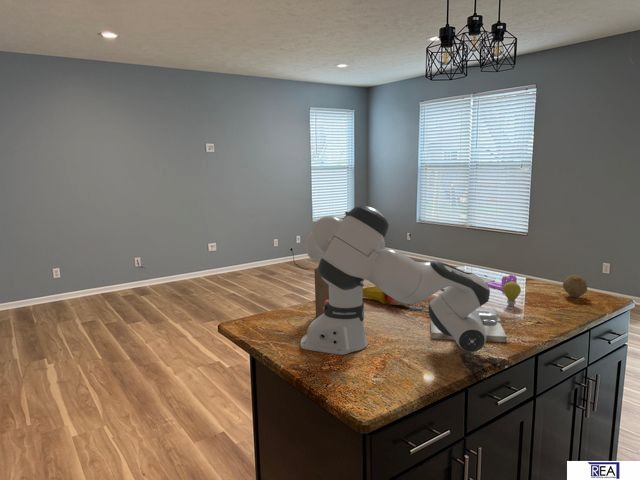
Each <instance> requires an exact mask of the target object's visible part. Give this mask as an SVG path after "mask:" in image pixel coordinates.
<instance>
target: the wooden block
mask: <svg viewBox="0 0 640 480" xmlns="http://www.w3.org/2000/svg"><path fill="white" fill-rule="evenodd" d="M313 271H314V299H315V301H314V302H315V304H314V305H315V319H316V318H318V317H319V316H320V315H322V314H323V313H324V312H323V305H324V302H325V301H326V300H329V285H328V284H327V283H326V282H325V281H324V280H323V279H322V277H321V276H320V275H319V273H318V266H317V267H316V268H314V270H313Z"/></svg>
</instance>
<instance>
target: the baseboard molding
mask: <svg viewBox="0 0 640 480" xmlns="http://www.w3.org/2000/svg"><path fill="white" fill-rule="evenodd" d="M479 277H480V278H481V279H483V280H484V281H485V283H486V284H487V283H488V282H496V280H495V279H496V278H493V279H492V278H489V277H488V275H485V274H484V275H480V276H479ZM448 287H449V286H448ZM448 287H445V288H443V289H441V290H440V291H442V292H443V291H444V290H446V289H447V288H448Z"/></svg>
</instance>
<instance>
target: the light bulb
mask: <svg viewBox="0 0 640 480" xmlns="http://www.w3.org/2000/svg"><path fill="white" fill-rule="evenodd" d="M502 291H503V293H504V295H505V297H506V299H507V301H506V302H507V306H508V307H515V304H516V299H518V297H519V296H520V294H521V292H522V290H521V286H520V285H519V283H517V282H516V283H515V282H508V283H506V284H505V285H504V287H503V290H502Z"/></svg>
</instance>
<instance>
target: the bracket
mask: <svg viewBox="0 0 640 480" xmlns="http://www.w3.org/2000/svg"><path fill="white" fill-rule="evenodd" d="M517 279H518V278H517V276H516V275H515V274H510V275H505V276H502V278H501V283H500V282H496V281H495V282H488V283H487V286H488V287H489V288H491V289H496V290H499V291H503V287H504V285H505V284H506V283H508V282H515V283H517V282H518V281H517Z"/></svg>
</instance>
